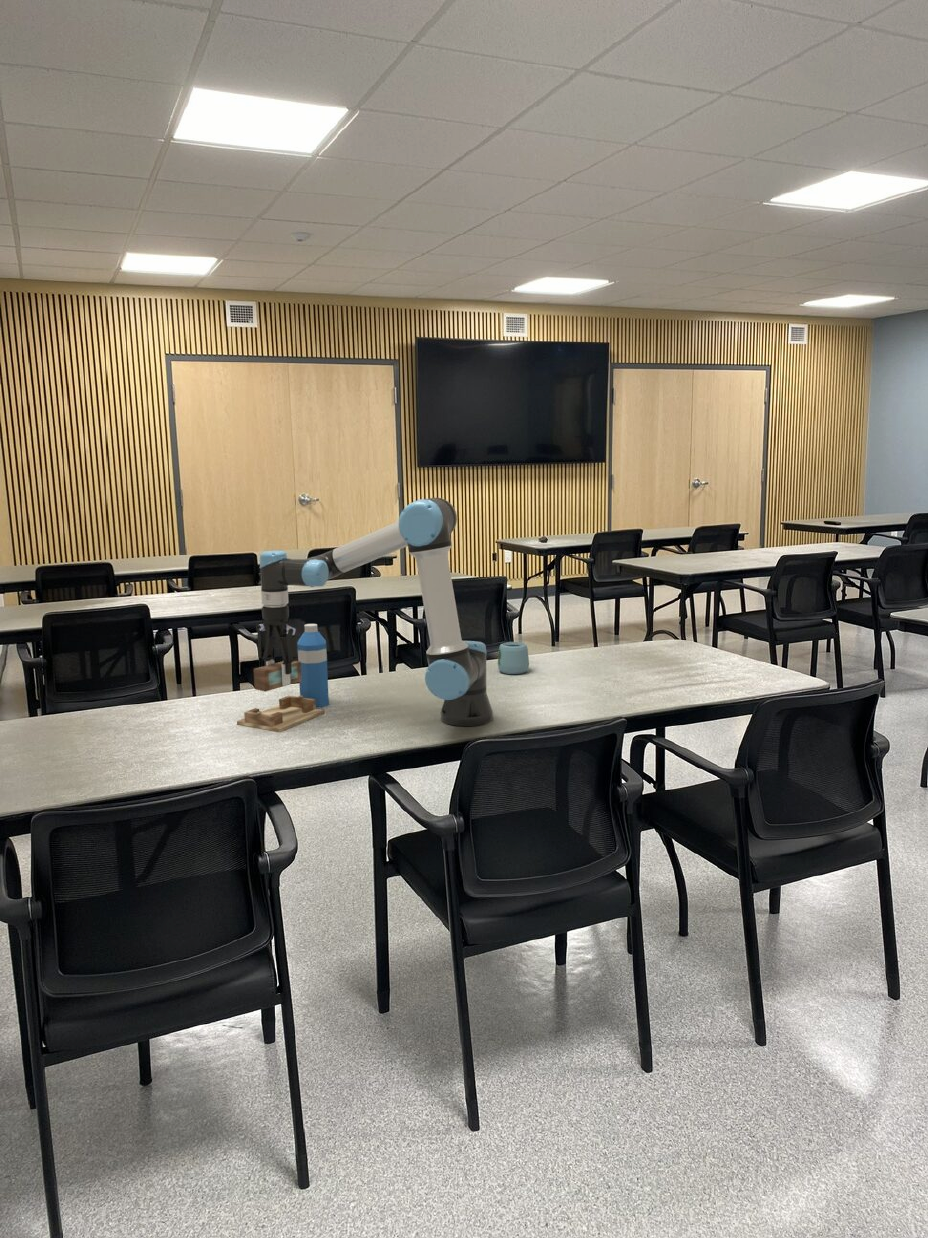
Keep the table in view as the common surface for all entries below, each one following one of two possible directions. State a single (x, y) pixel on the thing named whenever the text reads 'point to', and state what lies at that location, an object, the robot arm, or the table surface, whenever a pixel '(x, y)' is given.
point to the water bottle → (313, 666)
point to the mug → (513, 658)
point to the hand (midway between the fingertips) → (278, 683)
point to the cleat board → (282, 714)
